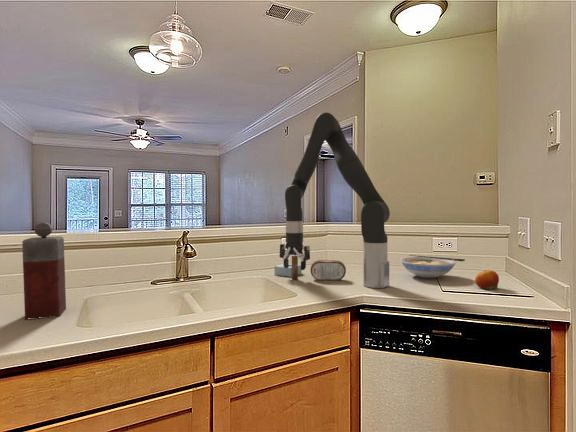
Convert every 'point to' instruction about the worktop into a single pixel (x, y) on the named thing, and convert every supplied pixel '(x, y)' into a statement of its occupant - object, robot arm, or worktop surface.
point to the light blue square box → (285, 270)
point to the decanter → (44, 274)
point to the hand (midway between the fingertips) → (294, 268)
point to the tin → (328, 270)
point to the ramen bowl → (429, 265)
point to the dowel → (294, 267)
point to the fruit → (487, 279)
